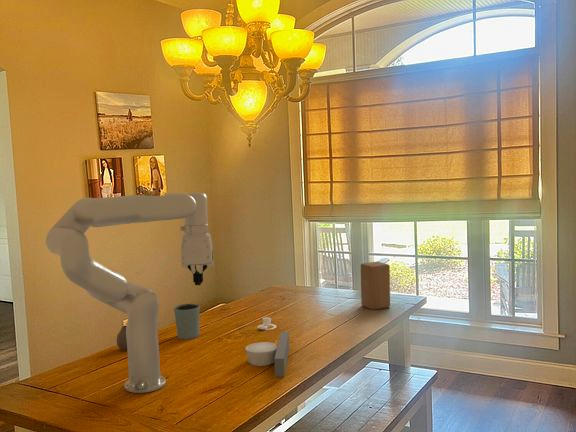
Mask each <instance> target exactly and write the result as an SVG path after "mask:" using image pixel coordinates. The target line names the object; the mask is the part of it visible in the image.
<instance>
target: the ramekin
mask: <svg viewBox="0 0 576 432" xmlns="http://www.w3.org/2000/svg"><path fill="white" fill-rule="evenodd" d="M277 346H278V344H277V343H274V342H271V341H269V342H266V341H262V342H261V341H260V342H254V343H251V344H248V345H247V346H245V348H244V350H245V352H246V358H247V361H248V363H249V364H250V365H252V366H255V367H265V366H266V367H268V366H270V365H272V364H275V360H274V359H275V354H276V350H277Z"/></svg>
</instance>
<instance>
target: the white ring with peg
mask: <svg viewBox="0 0 576 432" xmlns="http://www.w3.org/2000/svg"><path fill="white" fill-rule="evenodd" d="M271 322H272V318H271V317H269V316H267V317H266V316H265V317H262V324H260V325H258V326H257V329H258V330H261V331H262V330H263V331H267V330H273V329H276V328H277V325H276V324H273V323H271ZM270 326H272V327H271V328H270Z"/></svg>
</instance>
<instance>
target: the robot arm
mask: <svg viewBox="0 0 576 432" xmlns="http://www.w3.org/2000/svg"><path fill="white" fill-rule="evenodd" d="M180 219H184V225H183V226H180V231H181V232H182V231H183V233H184V234H182V237H181V244H180V262H181V268H185V269H188V270H189V271H190V273H192V278H193V279H192V280H193V283H194V286H201V285H202V284H203V282H204V272H205V270H206V269H209V268H213V267H214V266H215V263H214V249H213V243H212V237H211V233H210V232H209V225H208V224H209V223H208V222H209V221H208V219H209V218H208V196H207V194H206V193H205V192H197V191H196V192H187V193H181V192H179V193H178V192H169V193H165V194H163V195H144V194H143V195H141V194H133V195H132V194H129V195H122V196H108V197H95V198H94V197H82V198H80V199H79V200H77V201H76V202H74V203H73V205H72V206H71V207H70V208H69V209H68V210H66V212H65V213H64V214H63V215H62V216H61V217H60V218H59V219H58V220H57V221H56V222H55V224H54V225H52V227H51V228H50V229H49V230H48V232H47V234H46V236H45V245H46V247H47V249H48V250H49V251H50V253H53V254H55V255H57V256H60V266H61V268H62V269H61V270H62V272H63V274H64V276H65V277H66V278H67V279H68V280H69V281H70V282H71V283H73V284H75V285H77V286H78V287H79V288H82V289H84V290H85V292H86V293H87V294H88V295H89V296H90V297H92V298H94V299H95V300H97V301H99V302H101V303H103V304H105V305H107V306H110V307H112V308H114V309H116V310H118V311H120V312H123V313H124V314H127V321H126V325H125V326H126V339H127V364H128V378H129V379H128V380H126V382H124V390H125V391H127V392H128V393H129V392H130V393H135V394H144V393H151V392H154V391H157V390H160V389H162V388H164V386H165V385H166V383H167V382H166V379H167V378H165V377H164V376H163V375H161V365H160V351H159V350H160V348H159V333H158V332H159V331H158V316H159V308H160V301H159V297H158V295H157V294H156V293H155V292H154V291H153V289H150V288H149V287H147V286H144V285H140V284H136V283H133V282H132V281H129V280H127V279H126V278H125V276H123V275H122V274H121V273H120V272H118V271H116V270H113V269H110V268H108V267H106V266H105V265H103V264H101V263H100V262H98V261H97V260H95V259H94V258H92V257H91V255H90V254H91V253H90V246H89V244H90V243H89V239H88V238H87V236H86V234H85V233H86V232H87V231H88V229H89V228H90V227H93V228H103V227H104V228H105V227H112V226H118V225H119V226H120V225H130V224H139V223H149V222H158V221H159V222H160V221H170V220H180ZM197 266H199V267H198V268H197Z"/></svg>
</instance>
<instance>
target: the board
mask: <svg viewBox="0 0 576 432" xmlns="http://www.w3.org/2000/svg"><path fill="white" fill-rule="evenodd" d="M289 352H290V331H280V335H279V338H278V341H277V350H276V354H275V359H274V360H275V362H274V377H276V378H277V377H279V378H284V377H285V375H286V370H287V364H288V358H289Z"/></svg>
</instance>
